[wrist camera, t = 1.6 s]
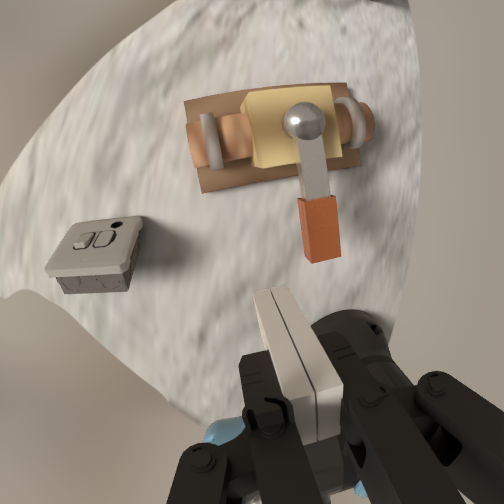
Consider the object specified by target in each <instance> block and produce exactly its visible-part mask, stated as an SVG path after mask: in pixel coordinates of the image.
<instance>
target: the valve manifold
mask: <svg viewBox="0 0 504 504" xmlns="http://www.w3.org/2000/svg"><path fill="white" fill-rule="evenodd" d="M300 102H309V103H312V104H315V105H316V106H318V107H319V108H320V109H321V111H322V112H323V114H324V116H325V121H326V124H325V129H324V131H323V133H322V139H323V145H324V151H325V158H326V165H327V170H334V169H341V168H349V167H357V166H360V159H359V152H358V148H359V147H361V146H362V144H363V143H364V142H368V141H370V140H371V139H372V137H373V135H374V130H375V123H374V117H373V114H372V112H371V110H370V108H369V107H368V105H366V104H365V103H363V102H358V101H357V100H356V99H354V98H352V97H349V93H348V88H347V83H311V84H295V85H282V86H272V87H263V88H255V89H248V90H241V91H234V92H228V93H222V94H217V95H211V96H206V97H201V98H197V99H192V100H187V101H184V106H185V111H186V117H187V122H188V124H186V130H187V137H188V142H189V147H190V152H191V156H192V160H193V164H194V167H195V168H197V172H198V177H199V182H200V186H201V191H202V194H203V193H207V192H212V191H216V190H221V189H226V188H230V187H235V186H240V185H245V184H250V183H255V182H261V181H266V180H272V179H277V178H283V177H289V176H295V175H298V170H297V163H296V157H295V151H294V145H293V140H292V139H291V138H289V137H288V136H287V135H286V134H285V133H284V131H283V129H282V125H281V120H282V116H283V114H284V112H285V111H286V110H287V109H289V108H290V107H292V106H294V105H295V104H297V103H300Z"/></svg>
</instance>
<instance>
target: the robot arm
mask: <svg viewBox="0 0 504 504" xmlns="http://www.w3.org/2000/svg"><path fill="white" fill-rule="evenodd" d="M270 290H271V292H270ZM270 290H269V288H268V289H263V290H259V291H255V292H252V293H253V298H254V303H255V308H256V312H257V317H258V322H259V327H260V332H261V336H262V341H263V344H264V347H265V351H261V352H257V353H252V354H248V355H243V356H242V358H241V361H240V363H239V372H240V377H241V384H242V390H243V396H244V402H245V407H244V409H243V411H242V416H240V417H234V418H227V419H221V420H217V421H215V422H213V423H212V424H211V425H210V426H209V427H208V429H207V431H206V434H205V437H204V442H203V443H198V444H195V445H193V446H190V447H189V448H188V449H186V450H185V451H184V452H183V454H182V456H181V458H180V460H179V463H178V467H177V470H176V473H175V476H174V480H173V483H172V487H171V490H170V493H169V497H168V500H167V504H331V501H330V495H332V494H336V493H339V492H342V491H345V490H348V489H351V488H354V491H355V493H356V494H358V495H359V496H360V497H363V498H366V497H368V498H369V500H370V502H371V504H466V503H465V501H464V499H463V498H462V496H461V494H460V493H459V491H460V492H461V493H463V494H464V495H465V496H466V497H467V498H468V499H470V500H471V501H472V502H473V503H474V504H504V412H503V411H502V410H500V409H499V408H497V407H496V406H495V405H493V404H492V403H490V402H489V401H487V400H486V399H484V398H483V397H481V396H480V395H479V394H477V393H476V392H474V391H473V390H471V389H470V388H468V387H467V386H465V385H464V384H462V383H461V382H459V381H458V380H457V379H455V378H454V377H452V376H451V375H449V374H447V373H445V372H441V371H434V372H428V373H427V374H425V375H423V376H422V377H421V378H420V380H419V381H418V385H415V386H414V385H413V384H412V383H411V381H410V380H409V379H408V378H407V376H406V375H405V374H404V373H403V372H402V371H401V370H400V368H399V367H398V366H397V365H396V363H395V362H394V361H393V360H392V358H391V354H390V351H389V348H388V344H387V341H386V338H385V335H384V332H383V330H382V328H381V327H380V325H379V324H378V323H377V322H376V321H375V320H374V319H373V318H372V317H371V316H370V315H368V314H367V313H364V312H362V311H357V310H345V311H340V312H336V313H333V314H330V315H328V316H326V317H324V318H322V319H320V320H318V321H317V322H315V323H314V324H313V325H311V326H310V325H309V323H308V321H307V319H306V318H305V316H304V314H303V312H302V311H301V309H300V307H299V305H298V304H297V302H296V300H295V299H294V297H293V295H292V293H291V292H290V290H289V288H288V286H287V285H286V284H285V285H281V286H276V287H272V288H270ZM457 489H458V490H459V491H458V490H457Z"/></svg>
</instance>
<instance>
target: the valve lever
mask: <svg viewBox="0 0 504 504" xmlns="http://www.w3.org/2000/svg"><path fill="white" fill-rule="evenodd" d="M325 124H326V121H325V116H324V114H323V112H322V111H321V109H320V108H319V107H318V106H316V105H315V104H312V103H309V102H300V103H297V104H295V105H294V106H292V107H290V108H289V109H287V110H286V111H285V112H284V114H283V116H282V120H281V125H282V129H283V131H284V133H285V134H286V135H287V136H288V137H289V138H291V139H292V140H293V145H294V151H295V157H296V163H297V170H298V176H299V183H300V189H301V196H302V198H298V199H297V201H298V208H299V215H300V222H301V229H302V237H303V245H304V253H305V257H306V258H307V259H308V260H309V261H310V262H311V263H317V262H321V261H325V260H329V259H333V258H337V257H341V248H340V235H339V224H338V213H337V204H336V196H333V195H330V187H329V179H328V172H327V165H326V158H325V151H324V145H323V139H322V133H323V131H324V129H325Z"/></svg>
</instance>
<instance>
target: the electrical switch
mask: <svg viewBox="0 0 504 504" xmlns="http://www.w3.org/2000/svg"><path fill="white" fill-rule="evenodd" d="M142 226H143V222H142V219H141V217H139V216H133V217H123V218H114V219H106V220H97V221H89V222H82V223H76V224H74V225H72V226H71V228H70V229H69V230H68V232H67V233H66V235H65V236H64V238H63V239H62V241H61V242H60V244H59V245H58V247H57V249H56V250H55V252H54V253H53V255H52V257H51V258H50V260H49V261H48V263H47V265H46V266H45V271H46V274H47V276H48V278H50V277H56V279H57V282H58V283H59V284H60V285H61V288H62V290H63V292H64V294H81V293H106V292H127V291H128V290H129V286H130V282H131V278H132V275H133V271H134V267H135V264H136V260H137V257H138V254H139V250H140V243H139V235H138V233H139V230H140V229H141V228H142ZM133 251H134V252H133ZM131 253H132V255H131ZM93 275H95V276H93ZM80 276H81V277H80ZM97 280H98V282H99V283H98V282H97ZM82 282H83V283H82ZM80 285H81V286H80ZM126 286H127V287H126ZM115 288H116V289H115ZM127 289H128V290H127ZM74 290H75V291H74Z"/></svg>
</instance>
